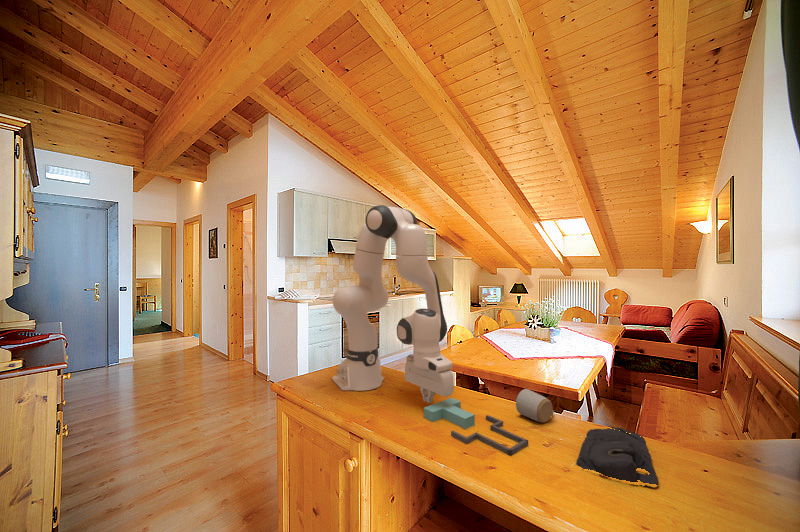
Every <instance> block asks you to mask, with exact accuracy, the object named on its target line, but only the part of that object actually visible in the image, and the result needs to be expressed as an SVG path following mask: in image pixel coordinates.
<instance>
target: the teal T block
mask: <svg viewBox="0 0 800 532" xmlns="http://www.w3.org/2000/svg"><path fill="white" fill-rule="evenodd" d="M461 407H462V406H461V401H460V400H458V399H456V398H453V397H449V398H446V399H444V400H441V401H439V402H436V403H433V404H431V405H427V406H425V407H423V418H424V419H426V420H428V421H430V422H432V423H434V421H435V422H437V421H440V420H441V419H443V418H444V419H443V420H445V419H446V420H445V421H447V420H448V422H449V421H450V423H451V422H452V423H451V424H453V425H456V426H458V427H459V428H462V429H464V430H467V429H469V428H471V427H474V426H475V425H476V418H475V417H476V416H475V414H474V413H472V412H469V411H467V410H465V409H462V408H461ZM439 419H440V420H439Z"/></svg>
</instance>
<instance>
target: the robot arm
mask: <svg viewBox="0 0 800 532" xmlns="http://www.w3.org/2000/svg"><path fill="white" fill-rule="evenodd" d="M389 239H392V240H393V241H394V244H395V264H396V265H395V266H396V271H397V273H398V274H399V275H400V277H402V278H403V279H404V280H406V281H408V282H409V283H412V284H415V285H418V286H419V287H420V288H422V289H423V291H424V293H425V294H424V295H425V299H426V306H427V308H418V309H416V310H414V311H413V313H412V314H411V315H409V316H406V317H402V318H401V319H400V320H399V321H398V323H397V325H396V335H397V336H396V337H397V339H398V340H399V342H401V343H402V344H403V345H407V346H409V345H412V346H413V350H412V351H413V352H412V353H413V354H411V353H410V354H409V355H407V356H406V362H405V365H404V379H405V381H406V382H408V383H410V384H413V385H415V386H417V387H419V391H420V392H421V395H422V401H424V402H425V403H428V404H432V403H433V402H434V396H435V394H437V395H439V396H442V397H449V396H452V394H453V393H454V391H455V390H454V389H455V382H454V381H455V380H454V374H453V371H452V370H451V369H452V368H453V366H454V365H453V362H452V361H451V360H450V359H449V358H447V357H446V356H445V355H444V354H442V353H441V347H440V342H442V341H443V340H444V339H445V337H446V335H447V333H448V325H447V320H446V318H445V314H444V310H443V308H444V307H443V303H442V298H441V291H440V286H439V281H438V277H437V275H436V272H435V271H434V270H433V269H432V268H431V267H430V263H429V259H428V243H427V238H426V233H425V230H424V228H423V227H422V226H421V225H419V224H418V219H417V217H416V215H415V214H414V213H413V212H412V211H411V210H409V209H405V208H401V207H398V206H386V205H384V204H383V205H382V204H381V205H380V204H379V205H375V206H373V207H371V208H370V209H369V210H368V211H367V213H366V215H365V222H364V223H363V224H362V226H361V227H360V231H359V234H358V236H357V240H356V245H355V252H354V256H353V263H352V269H353V271H354V272H355V273H356V275H358V280H359V283H358V284H357V285H347V286H345V287H340V288H338V289H337V290H336V291H335V292H334V294H333V297H332V304H333V305H332V306H333V308H334V311H335V312H337V313H338V314H339V315H340V316H341V317H342V318H343V320H344V323H345V325H346V329H347V339H348V340H347V341H348V348H346V349H345V350H346V351H345V352H346V356H345V359H343V361H342V362H340V363H339V364H338V368H337V370H336V371H337V374H336V375H334V376H332V379H333V380H332V379H331V380H332V381H333V382H334V383H335V384H336V386H337V387H338V388H339V389H340V390H341V391H357V392H358V391H359V392H361V391H362V392H363V391H364V392H365V391H371V390H374V389H377V388H379V387H380V386H382V385H383V381H384V380H385V376H383V375H382V366H381V365H382V364H381V360H380V359H379V348H378V347H379V346H378V342H377V341H378V335H377V327H376V326H375V325H374V324H373V323H372V322H371V321H370V320H369V315H368V313H370V312H375V311H378V310H380V309H382V308H384V307H385V306H386V305H387V304H388V301H389V293H388V290H387V289H386V287H385V286H384V284H383V277H382V271H383V264H384V263H383V262H384V256H385V250H386V243H387V242H388V241H389Z"/></svg>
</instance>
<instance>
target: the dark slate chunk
mask: <svg viewBox="0 0 800 532" xmlns="http://www.w3.org/2000/svg"><path fill="white" fill-rule="evenodd" d="M610 428H612V429H610ZM614 429H615V430H614ZM619 430H620V431H619ZM626 432H627V433H626ZM629 433H631V434H629ZM585 435H586V436H587V437H585V438H584V439H585V440H584V439H583V442H582V444H581V446H582V447H580V451H579V454H578V457H577V459H576V463H575V465H577V467H580V468H583V469H588V470H589V469H590V470H594V471H596V472H599V473H601V474H603V475H605V476H608V477H612V478H616V479H619V480H626V481H630V482H638V481H637V480H640V481H641V482H643V483H649V484H656V485H658V484H659V483H658V482H659V478H658V476H657V472H656V469H655V467H654V465H653V463H652V462H653V459H652V455H651V454H650V452H649V448H648V446H647V441H646V440H645V437H644V436H643V435H641V434H638V433H635V432H633V431H628V429H624V428H623V427H622V428H620V427H607V428H594V429H593V428H592V429H589V430H588V431H587V433H586V434H585ZM640 436H641V437H640ZM643 437H644V438H643ZM637 468H641V469H645V470H646V471H648V472H649V473H650V474H649V475H648V474H646V473H642V472H638V471H636V469H637ZM583 469H582V470H583ZM658 486H659V485H658Z"/></svg>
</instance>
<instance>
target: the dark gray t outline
mask: <svg viewBox="0 0 800 532" xmlns="http://www.w3.org/2000/svg"><path fill="white" fill-rule="evenodd" d="M485 420H486V421H487V422H491V423H492V424H491V425H489V426H490V431H491V432H492V431H493V432H494V433H497V434H499V435H501V436H503V437H505V438H508V439H510V440H512V441H514V442H516V444H514V445H512V446H511V447H508V446H506V445H504V444H502V443H500V442H497V441H495V440H493V439H491V438H489V437H487V436H485V435H482V434H480V433H479V432H477V431H476V432H474V433H471V434H470V435H468V436H465V435H463V434H461V433H459V432H457V431H455V430H450V436H451V437H453V438H454V439H456V440H459V441H460V442H461V443H463V444H466V445H468V444H469V443H471V442H474V441H475V440H477V441H481V442H482V443H484V444H486V445H488V446H490V447H492V448H494V449H496V450H498V451H500V452H502V453H504V454H507V455H508V456H510V457H511V456H513V455H514V454H516V453H518V452H519V451H521V450H522V449H525V448H526V447H528V446H529V440H528V439H526V438H524V437H521V436H519V435H517V434H514V433H513V432H510V431H509V430H506V429H503V428H501V427H503V426H504V420H501V419H499V418H496V417H493V416H491V415H489V414H487V415H485Z"/></svg>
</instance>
